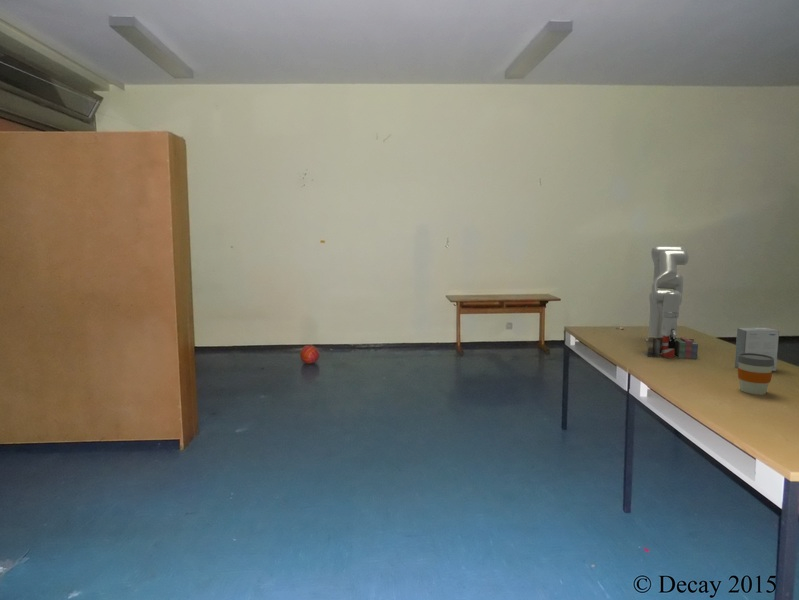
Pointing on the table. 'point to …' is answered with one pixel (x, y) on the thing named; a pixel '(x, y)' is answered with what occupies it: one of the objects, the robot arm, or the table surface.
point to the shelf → (678, 347)
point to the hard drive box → (757, 343)
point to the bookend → (654, 349)
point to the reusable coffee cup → (755, 372)
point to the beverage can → (665, 350)
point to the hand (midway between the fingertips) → (668, 346)
